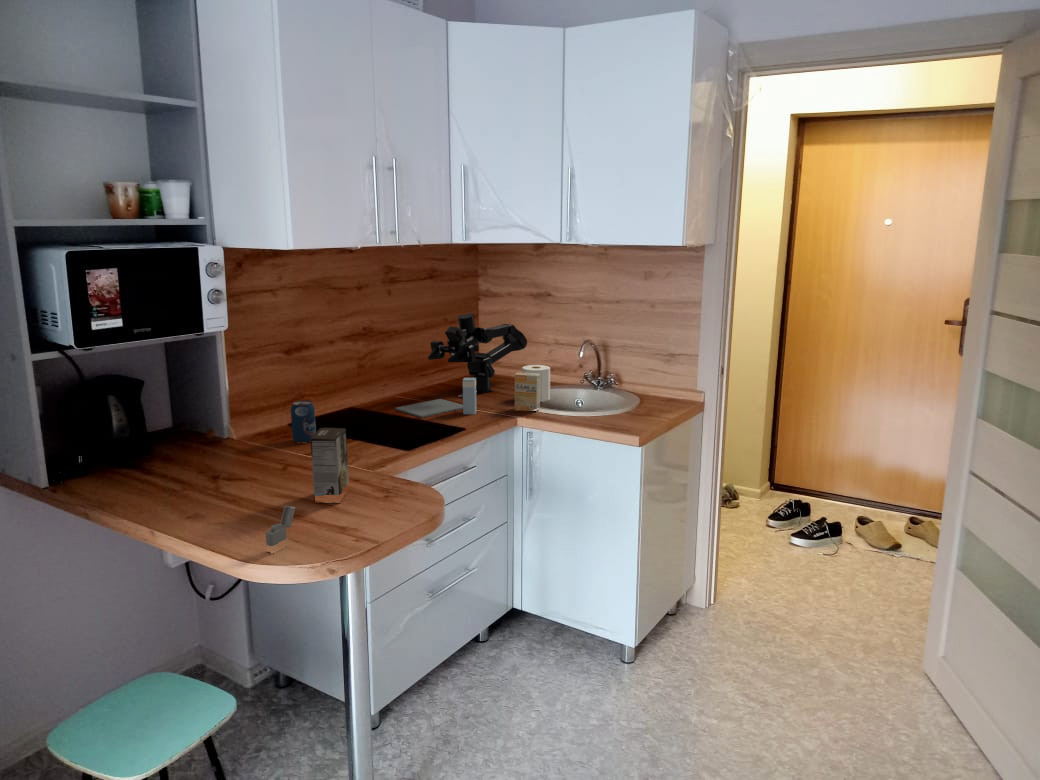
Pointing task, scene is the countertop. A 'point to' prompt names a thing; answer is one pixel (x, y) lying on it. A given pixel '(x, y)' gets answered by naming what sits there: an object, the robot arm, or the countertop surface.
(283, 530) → the lighter
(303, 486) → the countertop surface
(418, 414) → the grey mat
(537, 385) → the supplement box
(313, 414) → the soda can
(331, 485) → the coffee box
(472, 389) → the blue block
